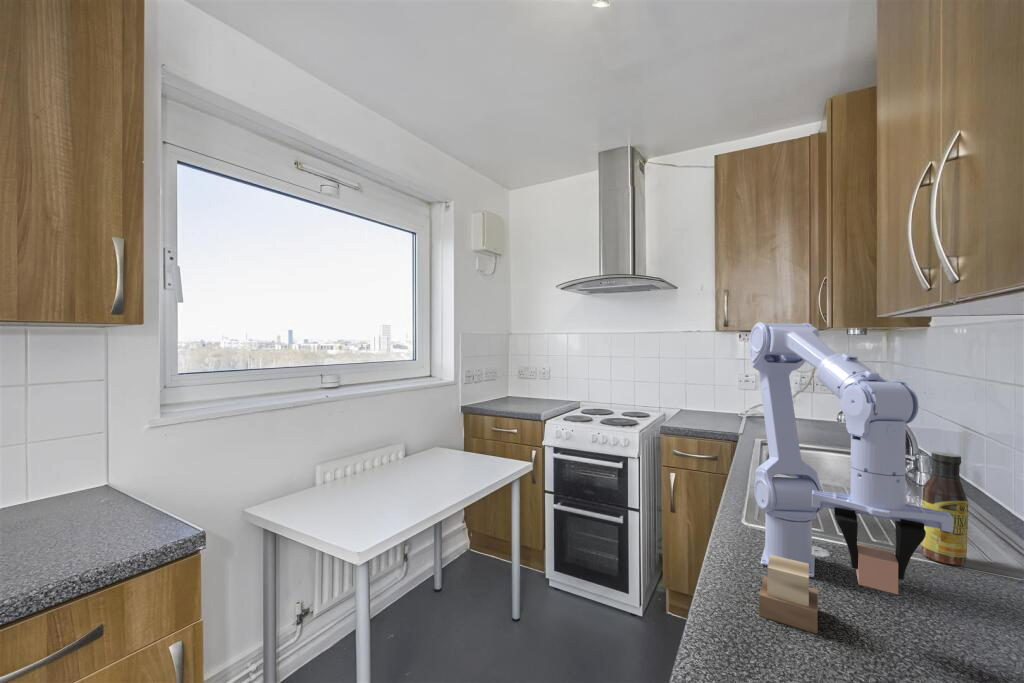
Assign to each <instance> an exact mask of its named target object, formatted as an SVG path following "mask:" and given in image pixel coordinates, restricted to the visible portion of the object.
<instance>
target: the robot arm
mask: <svg viewBox="0 0 1024 683" xmlns="http://www.w3.org/2000/svg"><path fill="white" fill-rule="evenodd" d="M748 348H749V358H750V361H751V367H752V368H753V369H755V370H757V371H758V378H759V386H760V387H759V388H760V394H761V403H762V410H763V417H764V425H765V426H764V427H765V434H766V443H767V449H768V450H767V451H768V459H767V460H765V461H764V462H763V463H761V464H760V465H758V467H756V468H755V470H754V474H755V476H754V477H755V481H754V486H753V488H754V489H753V490H754V492H753V493H754V497H755V500H756V503H757V504H758V506H759V507H760V508H761V510H762V511H763V512H765V520H764V522H765V524H764V525H765V528H764V531H765V532H764V533H765V534H764V536H765V538H764V540H765V541H764V549H763V551H762V554H761V557H760V558H761V559H760V565H762V566H766V567H768V562H769V556H770V555H774V556H778V557H782V558H786V559H791V560H795V561H799V562H803V563H808V564H809V578H814V577H815V560H816V559H815V555H814V554H813V552H812V551H813V548H812V546H813V520H816V519H817V514H820V513H821V512H823V509H830V510H833V512H834V518H835V521H836V523H837V525H838V527H839V529H840V531H841V534H842V536H843V538H844V541H845V543H846V546H847V548H848V553H849V555H850V565H851V568H852V569H858V552H857V544H858V529H859V525H858V523H859V522H858V516H857V515H862V516H869V517H873V518H874V517H875V518H879V519H885V520H890V521H894V525H895V526H894V527H895V528H894V530H895V551H894V553H895V556H896V558H897V561H898V580H901V581H904V580H905V574H906V570H907V567H908V564H909V562H910V561H911V558H912V557H913V555H914V553H915V551H916V550H917V549H918V547H920V545H921V544H920V543H921V542H922V541H923V540H924V538H925V536H926V531H925V529H924V526H928V527H933V528H939V529H940V530H942V531H947V532H953V517H952V516H951V515H950V513H948V512H942V511H937V510H932V509H928V508H923V507H922V506H918V505H914V504H909V503H906V444H907V443H906V440H907V439H906V435H907V434H906V432H907V431H906V430H907V429H906V428H907V426H906V425H907V424H910V423H912V422H913V421H914V420H915V418H916V417H917V415H918V413H919V399H918V396H917V393H916V392H915V390H913V388H912V387H911V386H910V385H909V384H908V383H907V382H906V381H904V380H903V381H902V380H889V379H884V378H883V377H882V376H881V375H880V373H878V372H877V371H876V370H872V369H870V368H869V367H868V366H867V365H865V364H864V363H862V362H861V361H860V360H859V357H858V356H857V355H856V354H855V353H843V352H842V353H836V352H835V351H834V350H833V349H832V348H831V347H829V345H828V344H826V343H825V341H823V339H821V338H820V334H819V329H818V328H817V327H815V326H813V324H811V323H809V322H803V323H776V322H775V323H773V322H772V323H771V322H769V323H767V322H766V323H765V322H763V321H759V322H757V323H755V324H754V326H753V327H752V328H751V331H750V334H749V336H748ZM805 363H808V364H809V365H810V366H812V367H813V368H815V369H816V377H817V379H818V381H819V382H820V383H821V384H822V385H824V387H825V388H826V389H827V390H829V391H830V393H832V394H834V396H836V397H837V398H838V399H839V403H840V408H841V411H842V414H843V416H844V418H845V429H846V430H847V433H848V434H850V480H849V481H850V484H849V485H850V489H849V491H850V492H849V493H843V492H842V493H840V492H831V491H824V489H823V487H822V486H821V483H820V480H819V475H818V472H817V470H816V469H815V468H813V467H811V466H810V465H809V464H808V463H806V462H805V461H804V460H803V459H802V456H801V449H800V442H799V436H798V429H797V422H796V415H795V414H796V413H795V409H794V408H795V407H794V401H793V400H794V399H793V394H792V393H793V392H792V387H791V381H790V375H791V373H792V372H794V371H796V370H798V369H801V368H802V366H803V365H805ZM776 475H787V476H789V475H790V477H787V476H786V477H783V476H776ZM791 476H795V477H791Z"/></svg>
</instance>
